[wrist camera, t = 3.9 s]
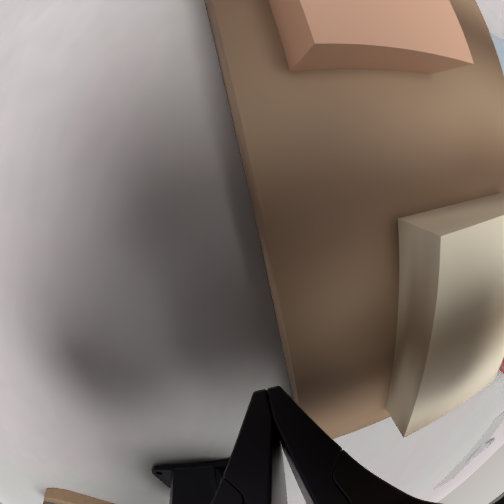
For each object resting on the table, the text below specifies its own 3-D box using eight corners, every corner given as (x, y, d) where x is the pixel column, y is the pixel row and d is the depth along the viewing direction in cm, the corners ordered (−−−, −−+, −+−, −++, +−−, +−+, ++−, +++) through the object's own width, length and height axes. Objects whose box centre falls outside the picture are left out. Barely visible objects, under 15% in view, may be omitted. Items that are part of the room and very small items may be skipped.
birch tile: (473, 359, 11) (494, 380, 9) (385, 408, 10) (403, 437, 9) (500, 193, 8) (535, 203, 6) (397, 218, 8) (440, 236, 6)
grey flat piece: (464, 468, 31) (466, 471, 30) (372, 513, 30) (374, 518, 29) (523, 392, 23) (526, 396, 22) (423, 457, 22) (426, 463, 21)
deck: (467, 337, 13) (489, 357, 11) (295, 410, 13) (306, 446, 11) (440, 2, 7) (469, -12, 5) (200, -17, 7) (197, -55, 4)
